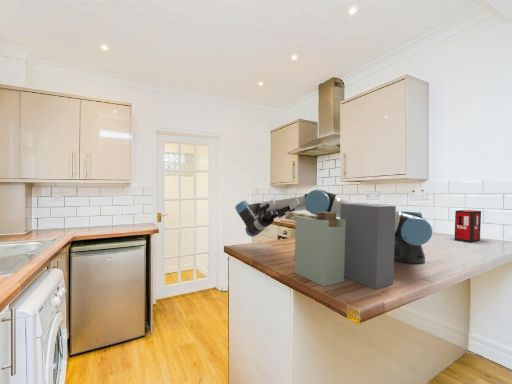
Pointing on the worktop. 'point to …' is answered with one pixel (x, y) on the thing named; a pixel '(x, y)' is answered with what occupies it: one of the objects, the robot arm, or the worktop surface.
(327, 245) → the sage green tall box
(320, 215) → the mallet
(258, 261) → the worktop surface
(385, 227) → the tall grey upright slab
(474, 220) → the cleaning product box
